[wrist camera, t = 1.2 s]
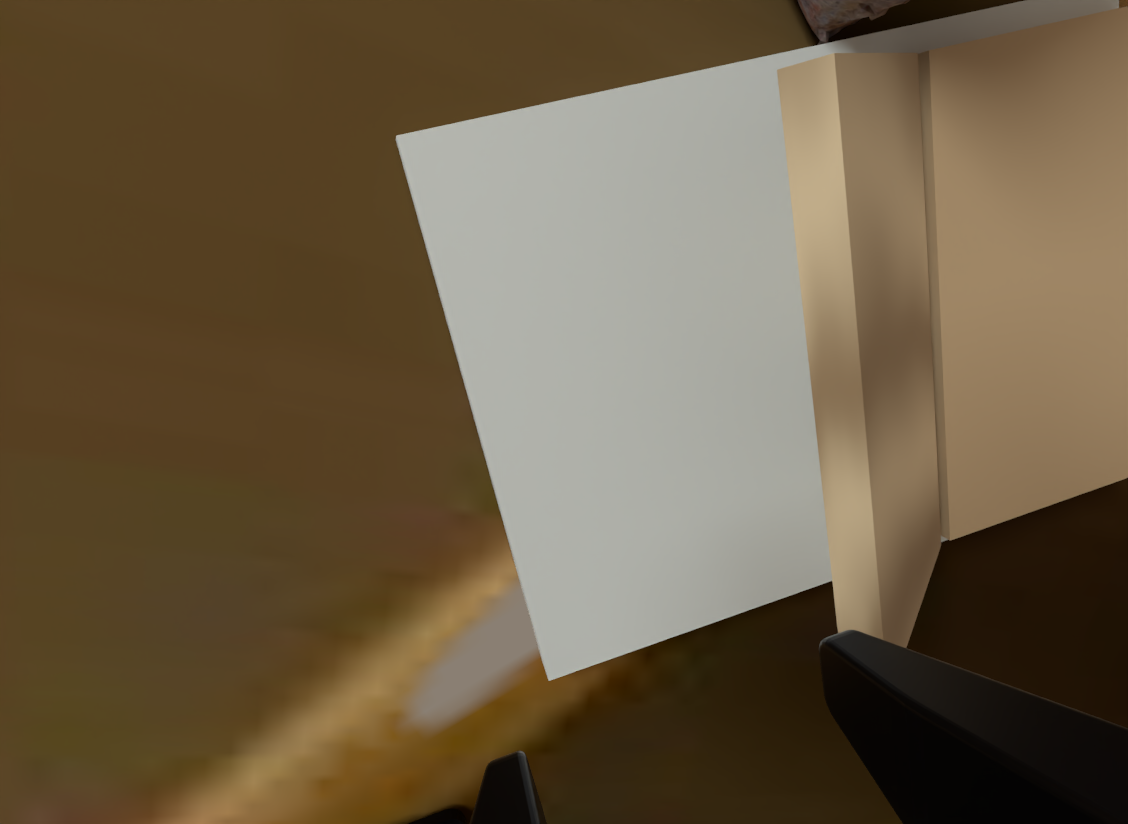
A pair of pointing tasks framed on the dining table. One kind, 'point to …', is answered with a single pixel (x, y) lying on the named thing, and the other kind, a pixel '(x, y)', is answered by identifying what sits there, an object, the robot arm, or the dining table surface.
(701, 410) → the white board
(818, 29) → the food item
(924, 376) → the click plank
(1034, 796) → the robot arm
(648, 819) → the dining table surface
